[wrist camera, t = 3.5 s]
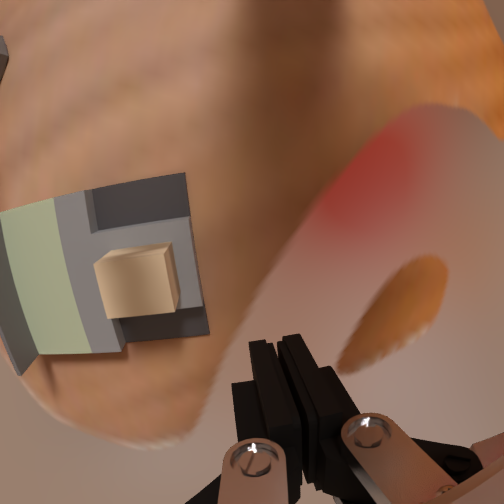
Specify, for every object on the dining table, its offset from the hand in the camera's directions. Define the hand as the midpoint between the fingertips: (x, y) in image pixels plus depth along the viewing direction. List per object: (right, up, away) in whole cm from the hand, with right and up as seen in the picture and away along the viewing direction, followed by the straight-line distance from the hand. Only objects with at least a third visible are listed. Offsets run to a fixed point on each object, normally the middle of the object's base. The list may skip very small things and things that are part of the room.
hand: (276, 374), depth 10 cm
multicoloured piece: (-14, +2, +15) cm, 21 cm away
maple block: (-9, +3, +13) cm, 16 cm away
